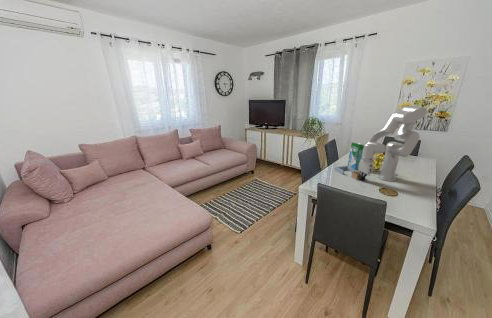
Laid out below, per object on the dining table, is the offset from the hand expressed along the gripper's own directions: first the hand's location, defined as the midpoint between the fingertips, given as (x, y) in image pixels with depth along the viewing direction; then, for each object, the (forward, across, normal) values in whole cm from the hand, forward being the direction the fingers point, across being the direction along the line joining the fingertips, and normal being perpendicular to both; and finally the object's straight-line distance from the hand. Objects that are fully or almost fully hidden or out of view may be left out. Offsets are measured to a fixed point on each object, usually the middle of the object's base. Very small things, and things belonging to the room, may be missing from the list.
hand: (362, 179), depth 161 cm
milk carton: (+1, +26, -16) cm, 31 cm away
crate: (+1, +6, 0) cm, 6 cm away
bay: (+1, +20, 0) cm, 20 cm away
